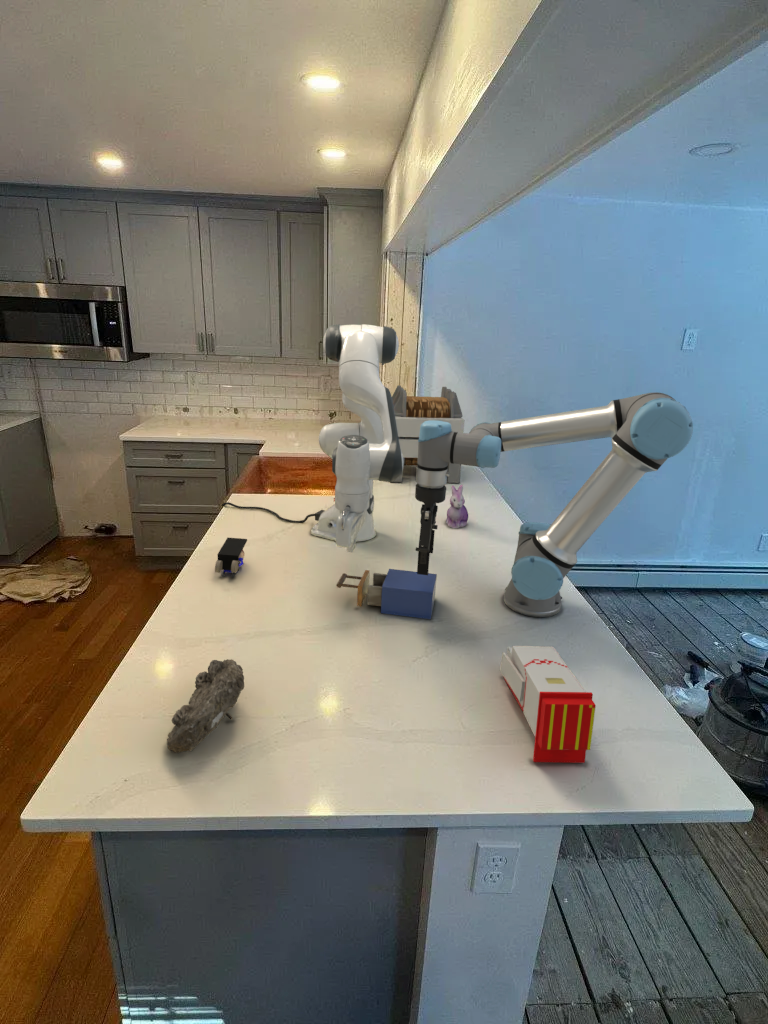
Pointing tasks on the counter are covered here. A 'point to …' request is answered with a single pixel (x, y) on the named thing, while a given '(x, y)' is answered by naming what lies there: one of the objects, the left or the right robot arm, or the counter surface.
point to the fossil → (206, 705)
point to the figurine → (457, 509)
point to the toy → (550, 702)
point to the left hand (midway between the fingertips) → (350, 550)
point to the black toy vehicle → (230, 556)
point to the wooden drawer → (366, 587)
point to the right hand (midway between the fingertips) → (425, 562)
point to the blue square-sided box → (408, 594)
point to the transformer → (418, 411)
